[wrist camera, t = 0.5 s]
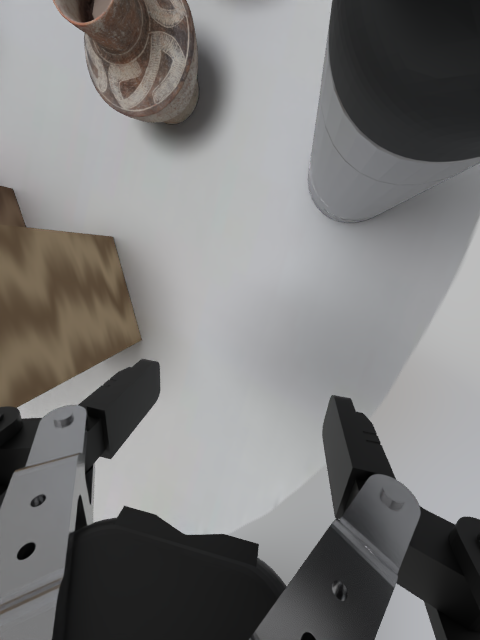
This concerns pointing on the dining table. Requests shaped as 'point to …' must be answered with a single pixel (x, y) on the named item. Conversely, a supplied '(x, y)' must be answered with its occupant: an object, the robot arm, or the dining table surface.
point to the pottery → (140, 55)
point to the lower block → (58, 309)
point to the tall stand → (9, 208)
